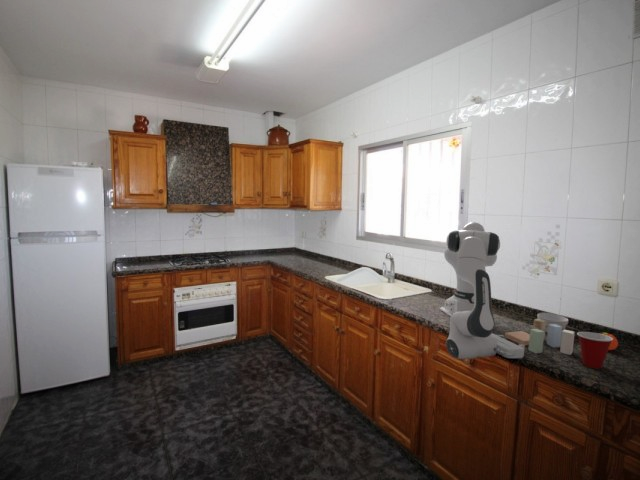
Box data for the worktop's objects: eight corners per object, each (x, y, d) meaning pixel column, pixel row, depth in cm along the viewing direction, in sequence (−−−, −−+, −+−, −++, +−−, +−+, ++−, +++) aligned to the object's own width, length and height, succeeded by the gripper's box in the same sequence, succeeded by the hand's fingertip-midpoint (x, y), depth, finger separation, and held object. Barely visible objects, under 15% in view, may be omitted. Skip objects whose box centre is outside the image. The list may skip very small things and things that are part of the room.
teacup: (555, 338, 158) (557, 321, 157) (529, 329, 169) (531, 313, 168) (576, 334, 164) (577, 318, 163) (549, 326, 175) (551, 311, 174)
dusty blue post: (546, 344, 151) (548, 324, 150) (553, 343, 152) (555, 324, 151) (552, 347, 148) (554, 327, 147) (560, 347, 148) (562, 326, 147)
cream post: (560, 352, 143) (562, 331, 142) (562, 350, 145) (564, 329, 144) (570, 355, 140) (572, 333, 139) (572, 352, 142) (574, 331, 141)
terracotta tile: (504, 336, 158) (505, 332, 158) (521, 335, 161) (522, 331, 161) (523, 345, 149) (523, 341, 148) (540, 343, 151) (541, 339, 151)
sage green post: (528, 349, 144) (530, 329, 143) (534, 349, 145) (536, 328, 144) (535, 353, 141) (537, 332, 140) (542, 352, 142) (544, 331, 141)
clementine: (589, 345, 151) (591, 329, 151) (604, 345, 152) (606, 329, 151) (606, 352, 143) (607, 336, 143) (621, 352, 144) (623, 336, 143)
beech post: (532, 338, 157) (533, 319, 156) (536, 337, 159) (537, 318, 158) (540, 341, 154) (542, 322, 153) (544, 340, 156) (546, 320, 155)
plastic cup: (590, 358, 137) (593, 329, 136) (617, 371, 127) (621, 339, 126) (566, 359, 136) (569, 330, 135) (592, 372, 125) (595, 340, 124)
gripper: (507, 347, 125) (536, 344, 129) (468, 328, 144) (494, 325, 148) (505, 364, 126) (535, 360, 129) (467, 342, 145) (493, 339, 149)
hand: (513, 341), depth 139 cm, fingers open, 8 cm apart
